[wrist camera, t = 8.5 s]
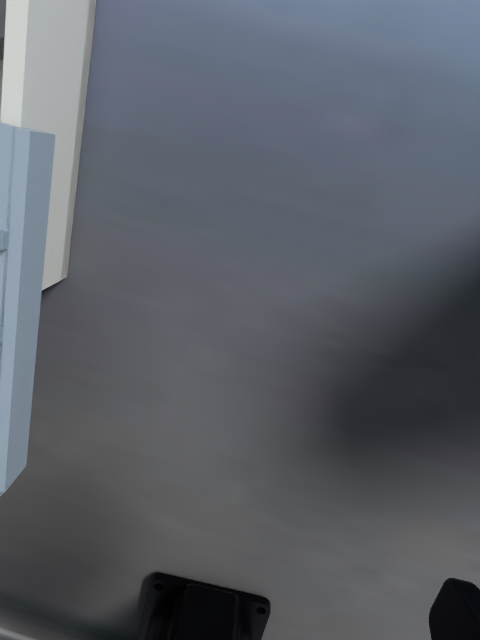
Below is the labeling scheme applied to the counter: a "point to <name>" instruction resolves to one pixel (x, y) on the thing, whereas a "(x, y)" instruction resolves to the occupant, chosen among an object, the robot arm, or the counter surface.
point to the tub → (49, 98)
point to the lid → (20, 282)
